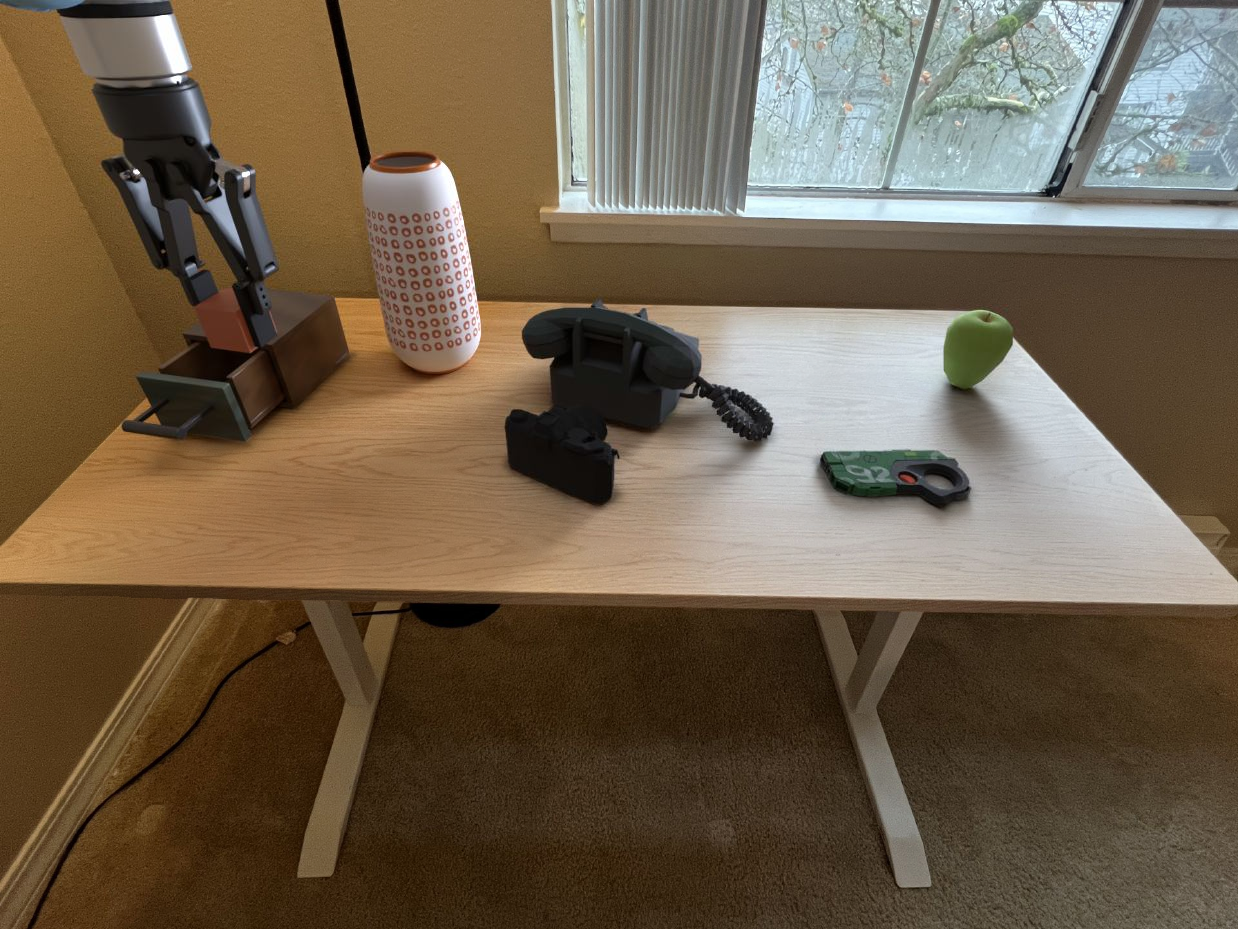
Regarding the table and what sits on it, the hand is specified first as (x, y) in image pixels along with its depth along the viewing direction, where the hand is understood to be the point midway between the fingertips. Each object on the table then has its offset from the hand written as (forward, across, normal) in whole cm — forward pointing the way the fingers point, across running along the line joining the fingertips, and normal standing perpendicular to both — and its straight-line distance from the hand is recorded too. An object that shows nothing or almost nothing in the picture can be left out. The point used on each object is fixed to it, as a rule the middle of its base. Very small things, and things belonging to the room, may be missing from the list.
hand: (243, 337), depth 67 cm
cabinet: (+17, +13, -18) cm, 27 cm away
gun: (+17, -71, -14) cm, 75 cm away
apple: (+17, -83, -39) cm, 94 cm away
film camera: (+17, -33, -7) cm, 38 cm away
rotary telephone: (+17, -41, -26) cm, 51 cm away
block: (0, 0, 0) cm, 0 cm away
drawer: (+16, +13, -5) cm, 21 cm away
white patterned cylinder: (+17, -7, -27) cm, 33 cm away
